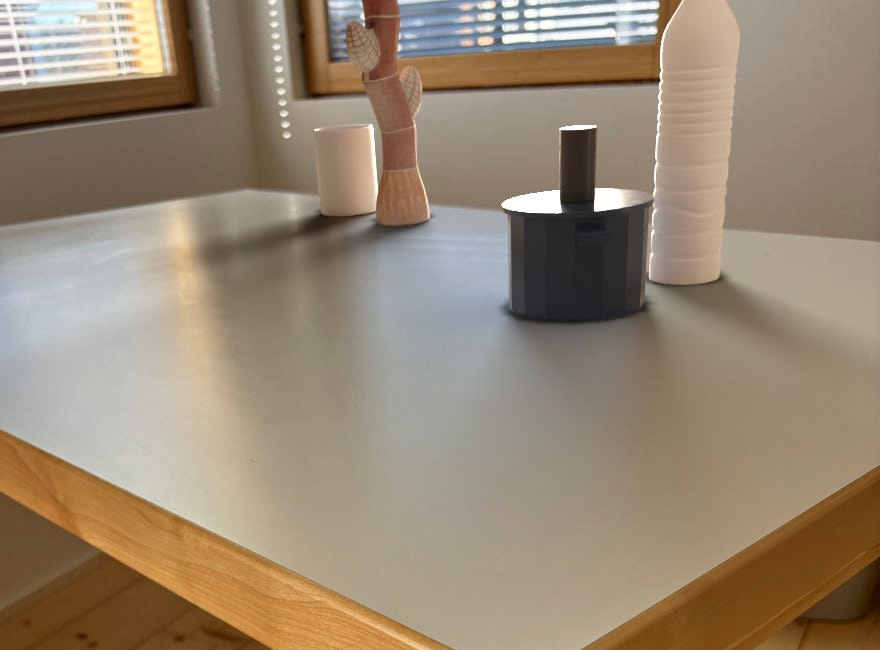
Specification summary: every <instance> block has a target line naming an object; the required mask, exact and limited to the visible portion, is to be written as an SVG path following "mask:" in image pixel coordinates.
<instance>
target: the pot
mask: <svg viewBox="0 0 880 650" xmlns="http://www.w3.org/2000/svg"><path fill="white" fill-rule="evenodd" d="M649 218H650V207H649V208H646V209H643V210H640V211H636V212H632V213H627V214H621V215H614V216H606V217H597V218H583V219H530V218H521V217H515V216H511V215H507V243H508V244H507V251H508V252H507V255H508V257H507V258H508V259H507V261H508V305H509V311H510V312H511V313H512V314H513V315H515V316H517V317H520V318H523V319H527V320H531V321H538V322H548V323H587V322H599V321H607V320H612V319H616V318H622V317H625V316H628V315H631V314H633V313H636V312H638V311H639V310H640V309H642V308H643V306H644V302H645V296H646V295H645V294H646V277H647V276H646V275H647V257H648V256H647V255H648V240H649V239H648V237H649Z"/></svg>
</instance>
